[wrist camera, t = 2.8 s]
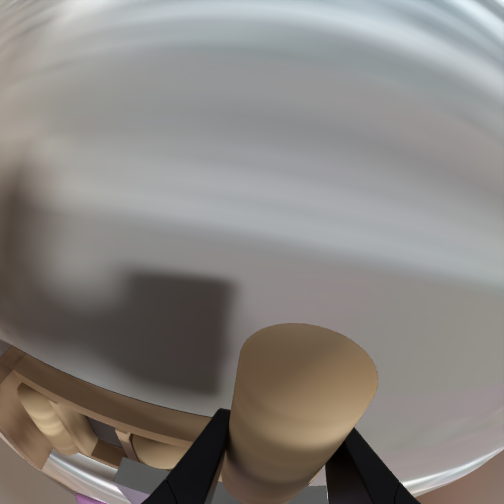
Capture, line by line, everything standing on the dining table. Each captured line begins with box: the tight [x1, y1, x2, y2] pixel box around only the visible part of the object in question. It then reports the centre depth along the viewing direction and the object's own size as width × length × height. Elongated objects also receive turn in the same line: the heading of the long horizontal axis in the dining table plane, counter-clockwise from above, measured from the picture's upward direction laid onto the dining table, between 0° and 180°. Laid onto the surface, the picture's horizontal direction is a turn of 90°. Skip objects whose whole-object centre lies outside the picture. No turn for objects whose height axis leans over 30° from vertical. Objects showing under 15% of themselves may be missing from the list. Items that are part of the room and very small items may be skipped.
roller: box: [221, 323, 378, 504], centre depth 7 cm, size 7×4×4 cm, turn 172°
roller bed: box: [10, 352, 322, 486], centre depth 14 cm, size 10×22×4 cm, turn 82°
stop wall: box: [0, 346, 53, 470], centre depth 13 cm, size 10×2×6 cm, turn 172°
